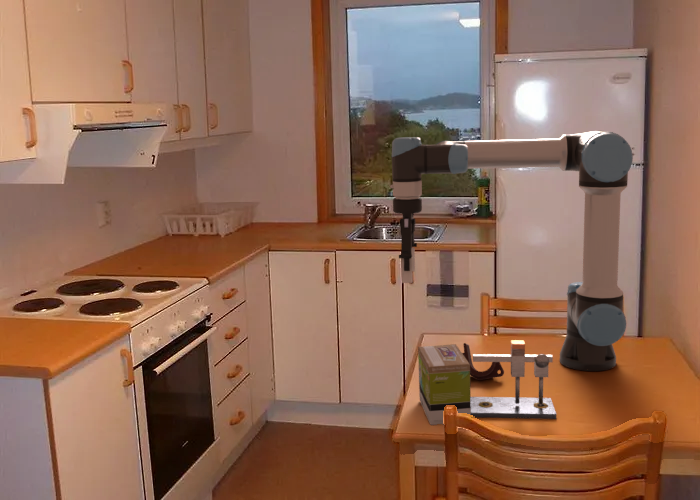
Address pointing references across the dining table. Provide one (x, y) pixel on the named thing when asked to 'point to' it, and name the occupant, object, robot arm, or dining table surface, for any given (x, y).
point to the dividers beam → (539, 361)
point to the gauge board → (512, 408)
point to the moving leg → (517, 364)
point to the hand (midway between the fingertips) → (408, 276)
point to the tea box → (443, 381)
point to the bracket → (481, 375)
